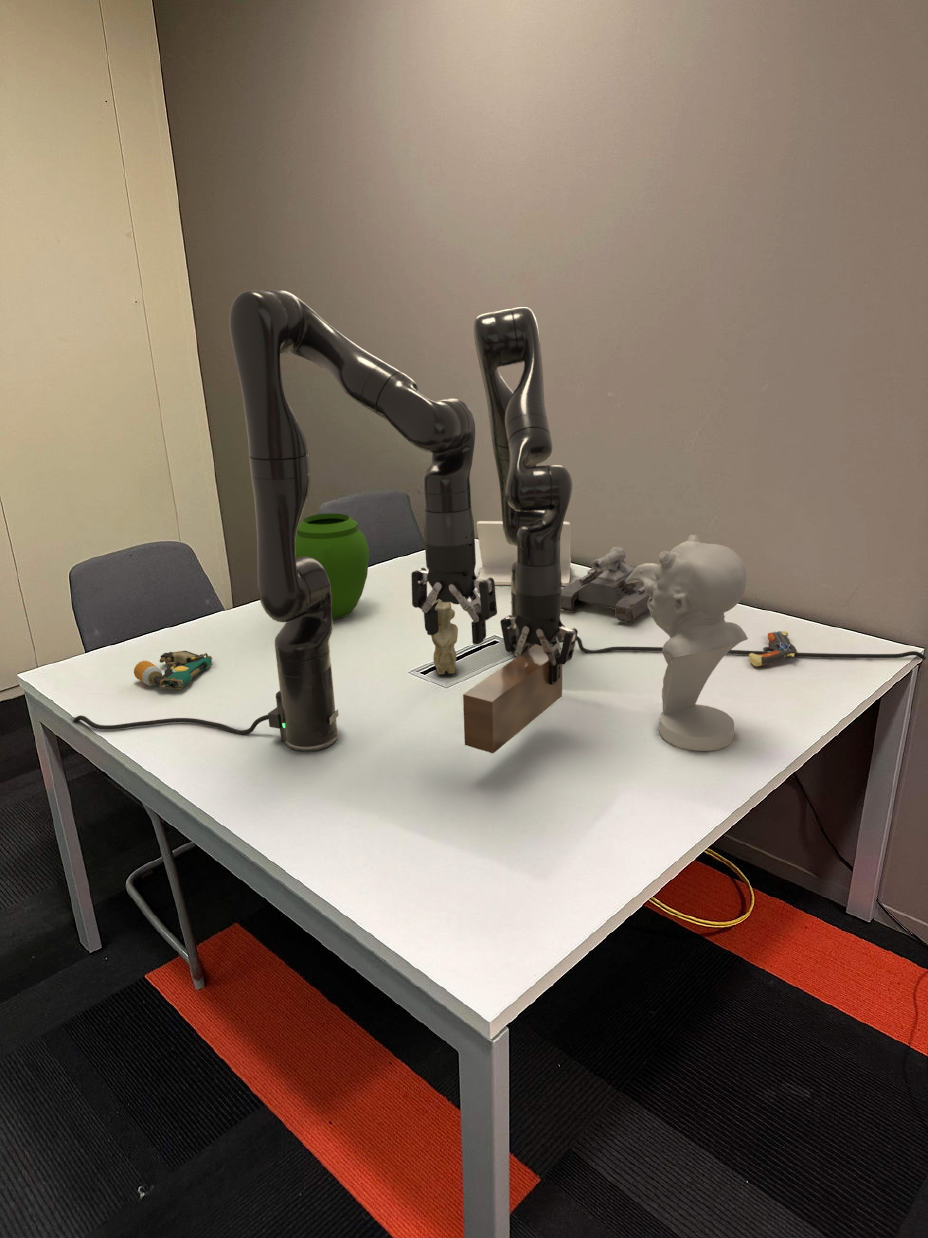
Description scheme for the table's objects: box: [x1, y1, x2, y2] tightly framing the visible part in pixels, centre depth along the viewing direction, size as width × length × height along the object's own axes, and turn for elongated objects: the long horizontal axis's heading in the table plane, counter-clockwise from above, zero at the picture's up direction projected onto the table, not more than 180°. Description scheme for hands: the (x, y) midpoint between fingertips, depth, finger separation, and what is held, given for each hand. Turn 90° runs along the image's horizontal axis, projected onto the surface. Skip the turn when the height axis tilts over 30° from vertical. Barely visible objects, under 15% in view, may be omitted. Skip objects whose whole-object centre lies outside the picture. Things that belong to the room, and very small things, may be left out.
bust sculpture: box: [625, 534, 749, 752], centre depth 149 cm, size 16×24×35 cm
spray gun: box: [133, 650, 213, 690], centre depth 180 cm, size 4×17×15 cm
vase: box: [295, 512, 370, 620], centre depth 209 cm, size 20×20×24 cm
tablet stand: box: [476, 520, 572, 587], centre depth 236 cm, size 18×25×17 cm
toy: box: [561, 546, 650, 624], centre depth 212 cm, size 25×20×15 cm
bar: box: [462, 644, 563, 754], centre depth 141 cm, size 23×5×9 cm, turn 147°
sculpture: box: [430, 601, 459, 675], centre depth 177 cm, size 6×7×15 cm
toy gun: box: [748, 630, 799, 667], centre depth 183 cm, size 3×19×10 cm
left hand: (455, 638), depth 133 cm, fingers open, 8 cm apart
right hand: (538, 678), depth 147 cm, fingers closed on bar, 5 cm apart
